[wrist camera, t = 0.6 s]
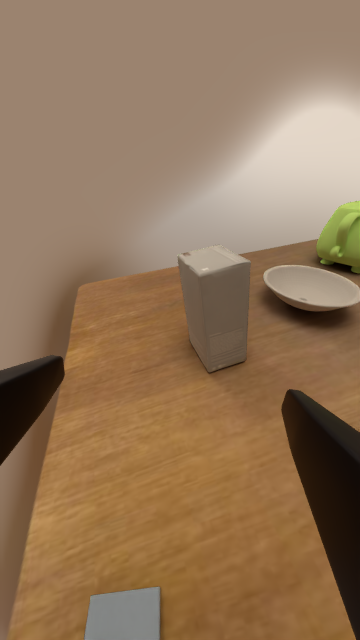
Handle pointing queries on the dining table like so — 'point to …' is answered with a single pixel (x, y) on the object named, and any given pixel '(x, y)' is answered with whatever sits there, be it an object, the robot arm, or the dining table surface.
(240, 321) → the cosmetic box
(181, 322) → the dining table surface
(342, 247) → the teapot
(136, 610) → the mat
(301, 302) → the dish
